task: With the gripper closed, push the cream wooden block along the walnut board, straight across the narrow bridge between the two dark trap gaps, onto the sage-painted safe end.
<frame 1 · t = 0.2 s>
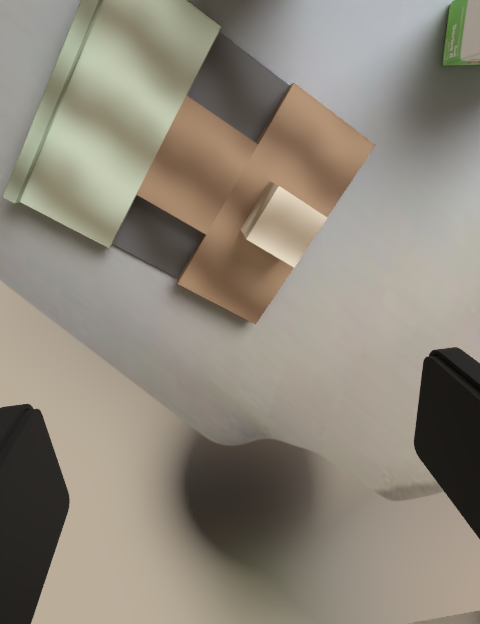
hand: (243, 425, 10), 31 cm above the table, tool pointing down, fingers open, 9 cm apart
block: (277, 219, 37), point 2 cm above the table, touching trap board
trap board: (196, 168, 36), on the table
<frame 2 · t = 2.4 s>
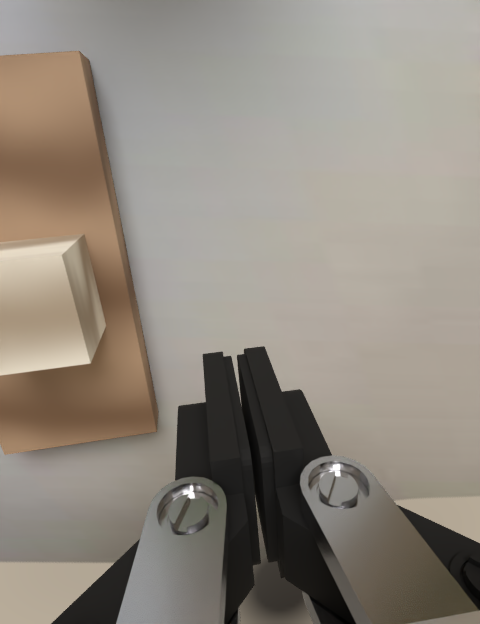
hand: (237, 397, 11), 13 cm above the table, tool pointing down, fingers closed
block: (45, 287, 20), point 2 cm above the table, touching trap board
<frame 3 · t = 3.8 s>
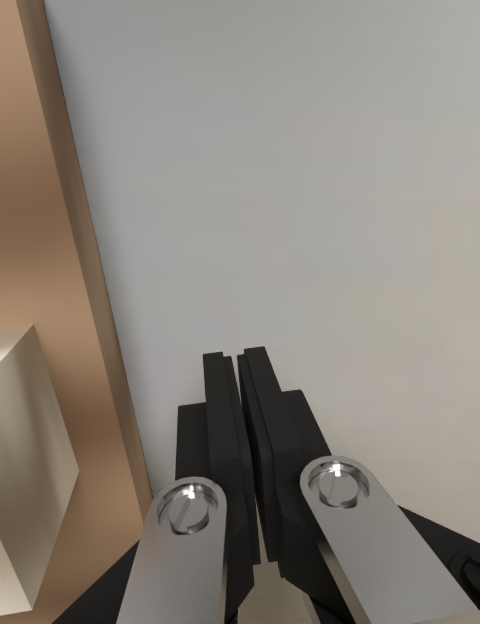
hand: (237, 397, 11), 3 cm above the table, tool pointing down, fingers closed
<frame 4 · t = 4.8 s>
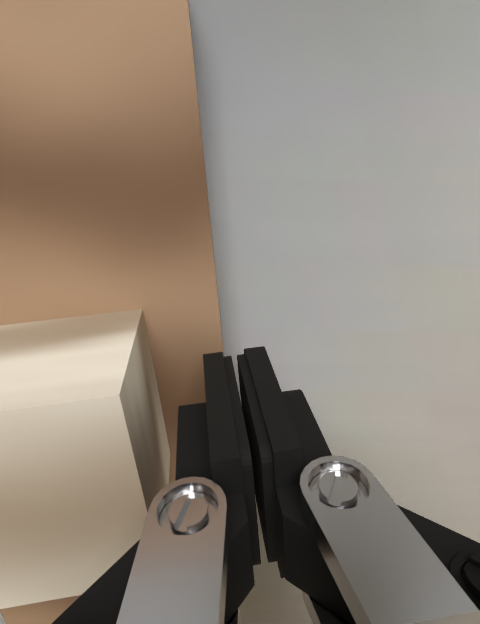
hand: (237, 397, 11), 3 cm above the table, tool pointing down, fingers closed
block: (69, 399, 11), point 2 cm above the table, touching gripper
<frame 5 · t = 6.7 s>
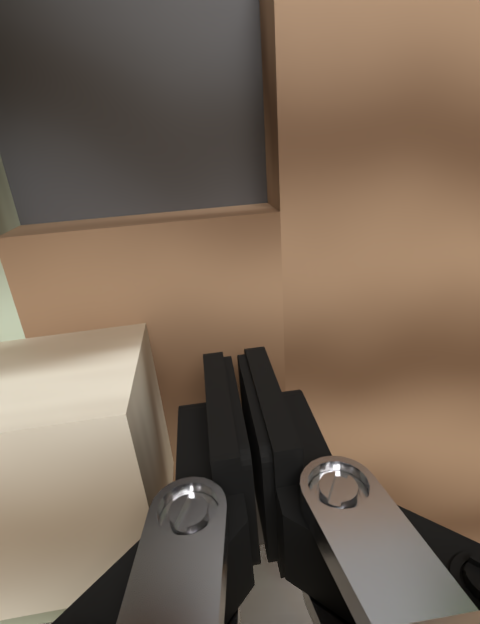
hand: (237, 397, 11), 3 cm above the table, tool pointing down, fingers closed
block: (75, 411, 12), point 2 cm above the table, touching gripper, trap board
trap board: (169, 347, 13), on the table
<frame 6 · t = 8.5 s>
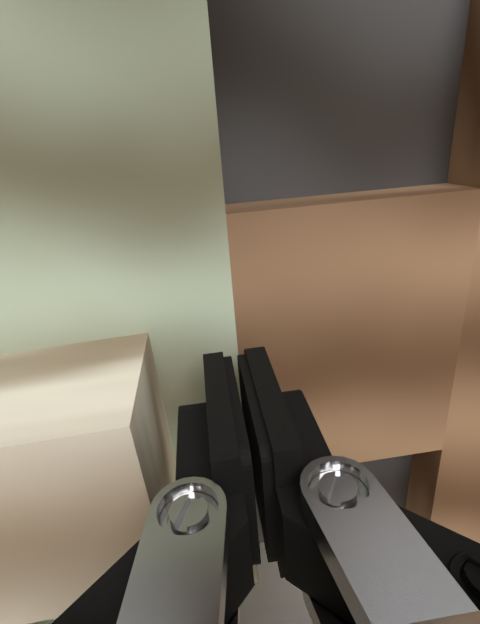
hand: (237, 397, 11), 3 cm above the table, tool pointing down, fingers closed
block: (80, 419, 12), point 2 cm above the table, touching gripper, trap board
trap board: (330, 324, 14), on the table
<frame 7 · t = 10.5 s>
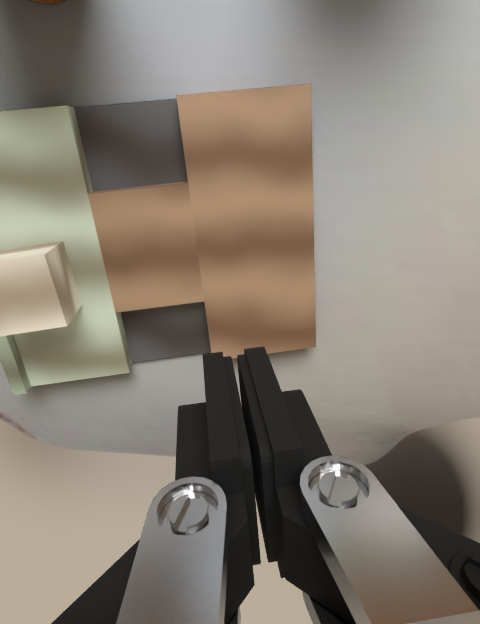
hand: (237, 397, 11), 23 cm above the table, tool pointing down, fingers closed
block: (38, 278, 29), point 2 cm above the table, touching trap board
trap board: (152, 245, 31), on the table
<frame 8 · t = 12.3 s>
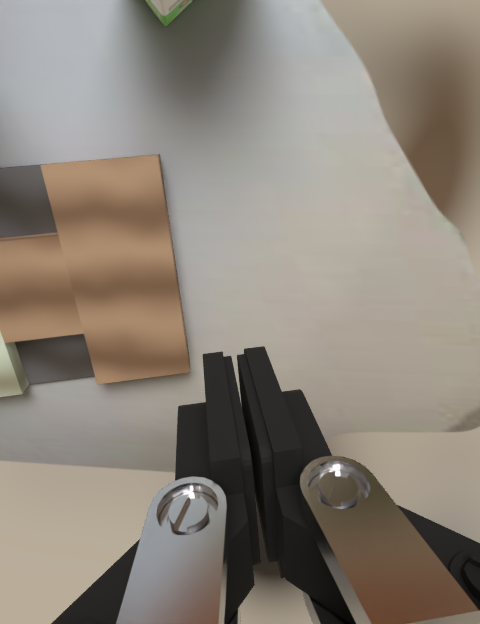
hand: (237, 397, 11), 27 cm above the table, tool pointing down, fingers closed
trap board: (38, 284, 36), on the table
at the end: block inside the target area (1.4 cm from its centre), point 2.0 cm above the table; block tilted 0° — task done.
